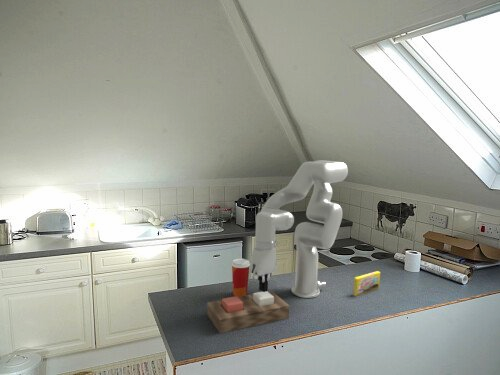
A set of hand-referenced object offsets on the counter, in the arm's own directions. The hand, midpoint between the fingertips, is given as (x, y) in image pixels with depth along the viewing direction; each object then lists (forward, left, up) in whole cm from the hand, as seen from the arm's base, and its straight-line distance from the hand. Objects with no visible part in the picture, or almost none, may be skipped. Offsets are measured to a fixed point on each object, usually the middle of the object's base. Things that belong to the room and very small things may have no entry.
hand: (263, 290), depth 140 cm
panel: (+6, 0, -10) cm, 11 cm away
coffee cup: (+1, -19, -10) cm, 21 cm away
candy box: (-53, 0, -10) cm, 54 cm away
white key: (0, 0, -5) cm, 5 cm away
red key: (+13, 0, -5) cm, 14 cm away
